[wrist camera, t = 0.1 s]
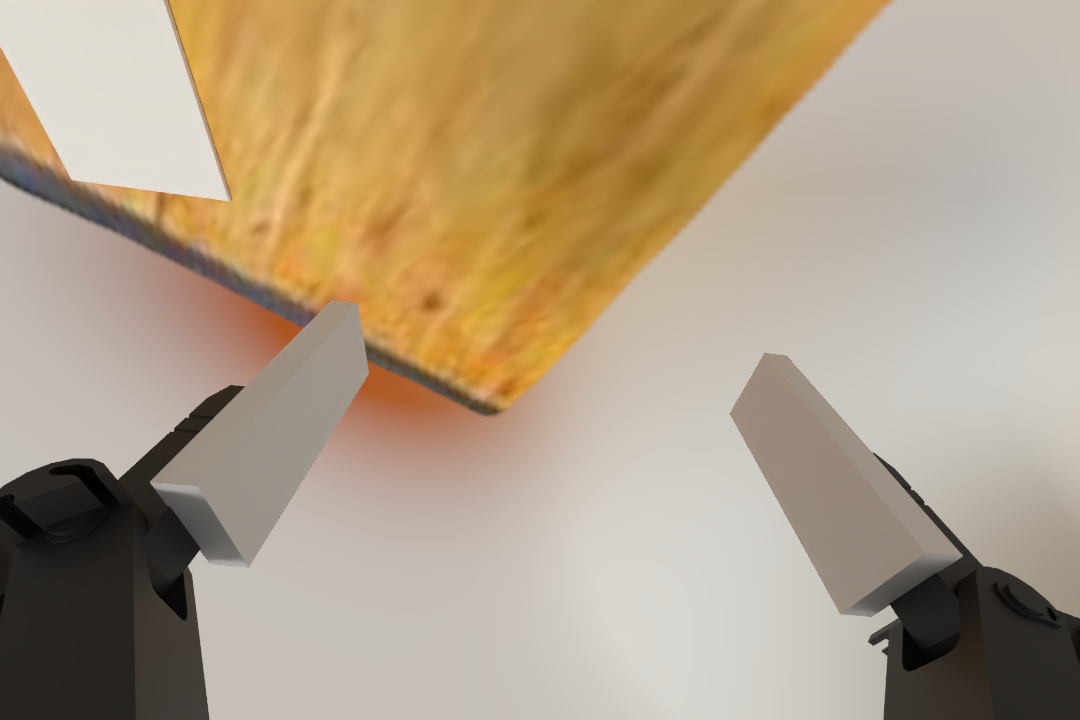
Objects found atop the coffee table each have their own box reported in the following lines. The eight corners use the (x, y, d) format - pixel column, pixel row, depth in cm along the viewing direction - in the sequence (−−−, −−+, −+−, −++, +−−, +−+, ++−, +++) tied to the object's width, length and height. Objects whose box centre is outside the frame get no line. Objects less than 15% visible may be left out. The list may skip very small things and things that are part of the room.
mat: (-67, -91, 26) (-75, -93, 26) (150, -54, 27) (145, -56, 27) (76, 179, 36) (71, 179, 36) (231, 199, 37) (229, 201, 36)
